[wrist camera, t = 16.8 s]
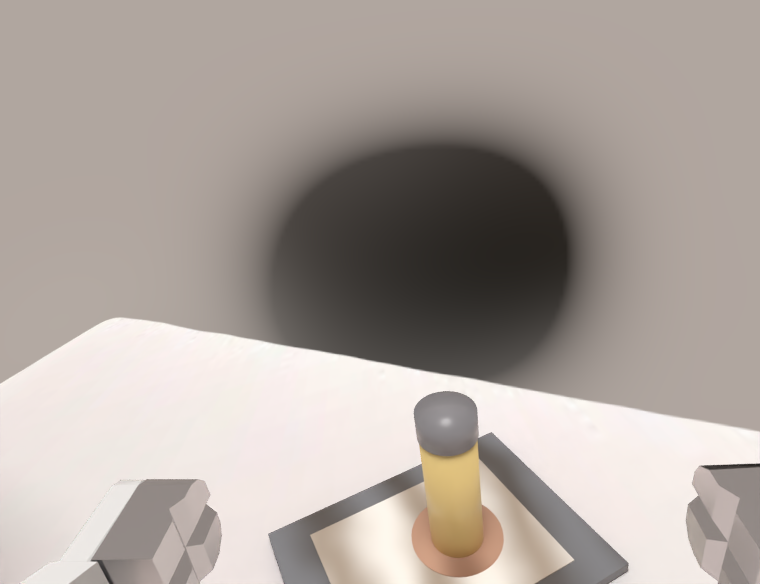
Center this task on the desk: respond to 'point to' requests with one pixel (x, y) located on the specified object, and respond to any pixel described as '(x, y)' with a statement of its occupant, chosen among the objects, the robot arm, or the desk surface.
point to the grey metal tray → (414, 544)
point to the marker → (451, 471)
